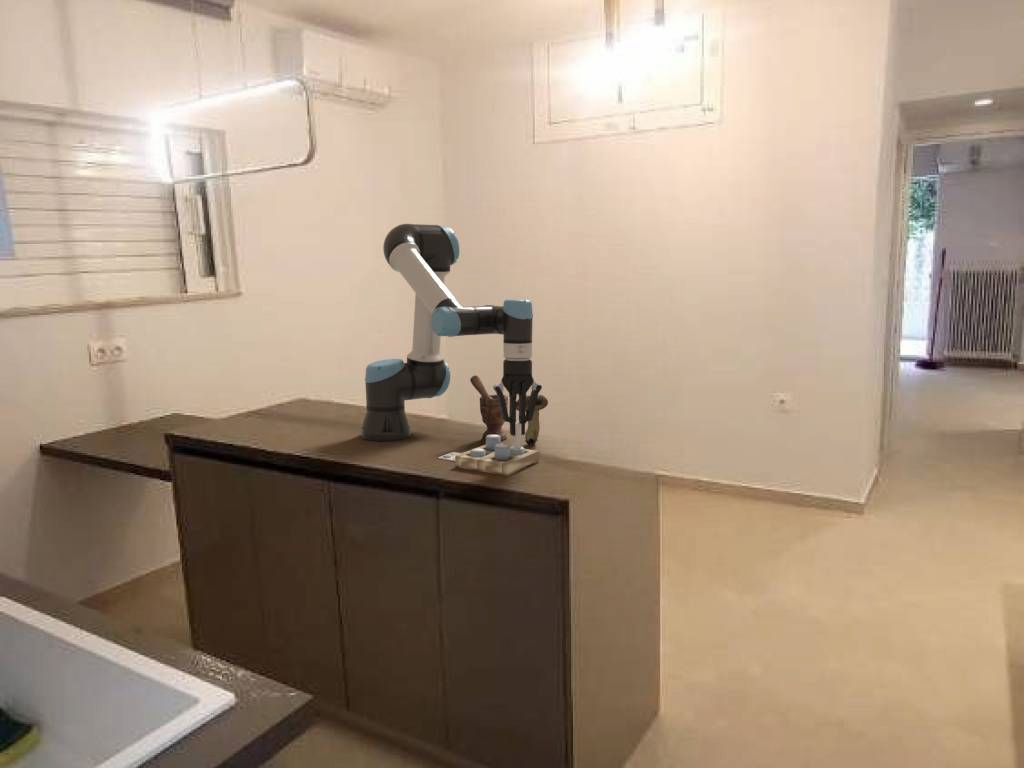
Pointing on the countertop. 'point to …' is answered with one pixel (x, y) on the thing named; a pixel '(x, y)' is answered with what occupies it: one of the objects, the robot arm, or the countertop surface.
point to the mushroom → (533, 419)
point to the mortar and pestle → (490, 410)
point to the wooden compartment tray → (496, 462)
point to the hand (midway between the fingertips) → (517, 447)
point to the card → (449, 456)
